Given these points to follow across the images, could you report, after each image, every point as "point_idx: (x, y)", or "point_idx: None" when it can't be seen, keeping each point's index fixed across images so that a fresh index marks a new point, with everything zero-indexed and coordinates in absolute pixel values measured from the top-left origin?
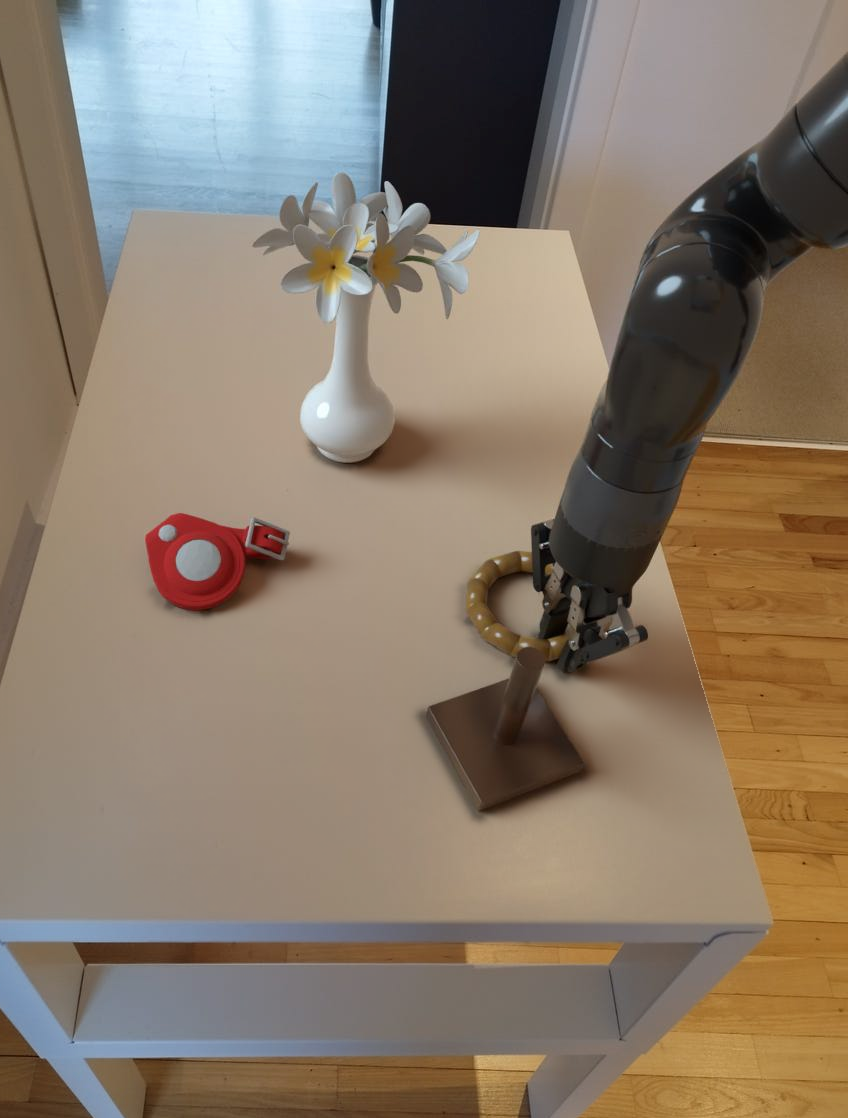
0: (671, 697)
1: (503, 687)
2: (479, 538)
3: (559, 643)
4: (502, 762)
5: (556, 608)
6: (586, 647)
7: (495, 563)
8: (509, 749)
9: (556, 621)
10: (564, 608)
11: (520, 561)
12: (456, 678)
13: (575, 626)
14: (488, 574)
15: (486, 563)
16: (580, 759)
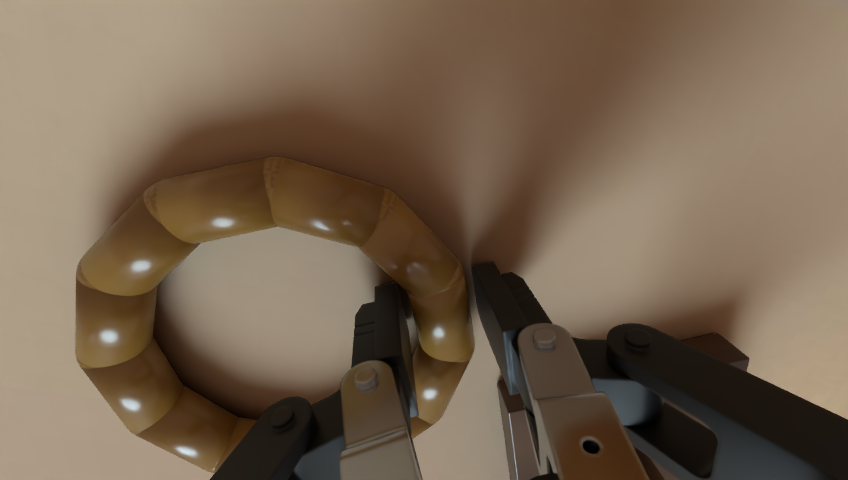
0: (663, 45)
1: (529, 454)
2: (23, 389)
3: (455, 341)
4: (672, 475)
5: (411, 433)
6: (636, 445)
7: (149, 428)
8: (657, 464)
9: (411, 373)
10: (402, 394)
11: (128, 364)
12: (454, 473)
13: None
14: (195, 446)
15: (150, 442)
16: (740, 363)
